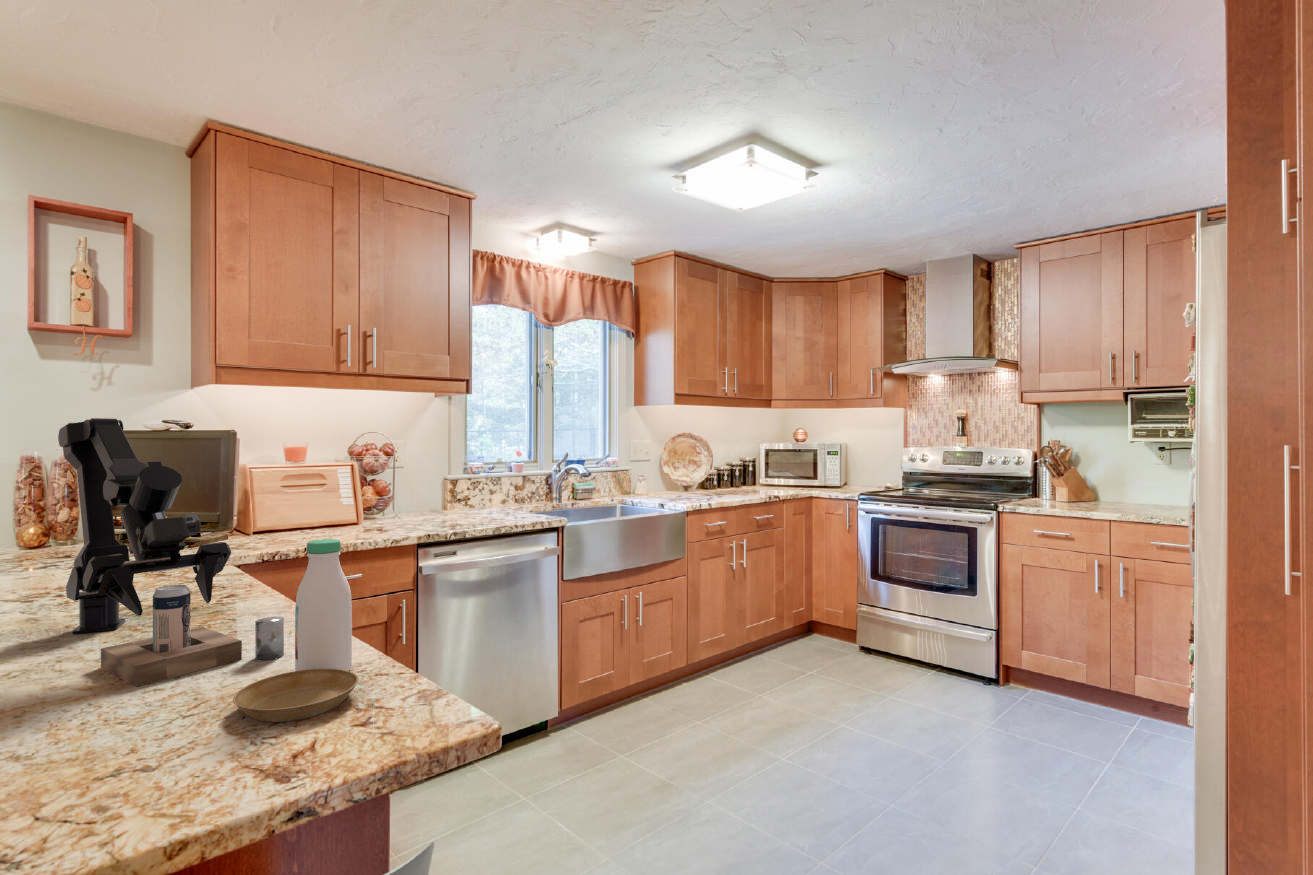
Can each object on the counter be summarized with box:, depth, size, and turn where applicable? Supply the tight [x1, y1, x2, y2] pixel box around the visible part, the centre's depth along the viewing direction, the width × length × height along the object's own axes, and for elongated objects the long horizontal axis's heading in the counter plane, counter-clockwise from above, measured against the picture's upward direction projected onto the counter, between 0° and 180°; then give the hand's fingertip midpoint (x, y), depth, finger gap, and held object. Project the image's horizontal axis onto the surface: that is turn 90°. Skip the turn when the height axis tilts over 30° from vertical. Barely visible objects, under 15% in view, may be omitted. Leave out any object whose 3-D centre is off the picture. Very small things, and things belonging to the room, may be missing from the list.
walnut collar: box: [100, 626, 243, 687], centre depth 104 cm, size 14×14×3 cm
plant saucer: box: [232, 669, 360, 723], centre depth 88 cm, size 15×15×3 cm
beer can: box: [152, 584, 191, 654], centre depth 104 cm, size 5×5×12 cm
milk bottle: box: [294, 538, 353, 671], centre depth 100 cm, size 8×8×20 cm
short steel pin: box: [254, 616, 285, 662], centre depth 108 cm, size 4×4×6 cm
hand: (176, 607), depth 103 cm, fingers open, 9 cm apart
